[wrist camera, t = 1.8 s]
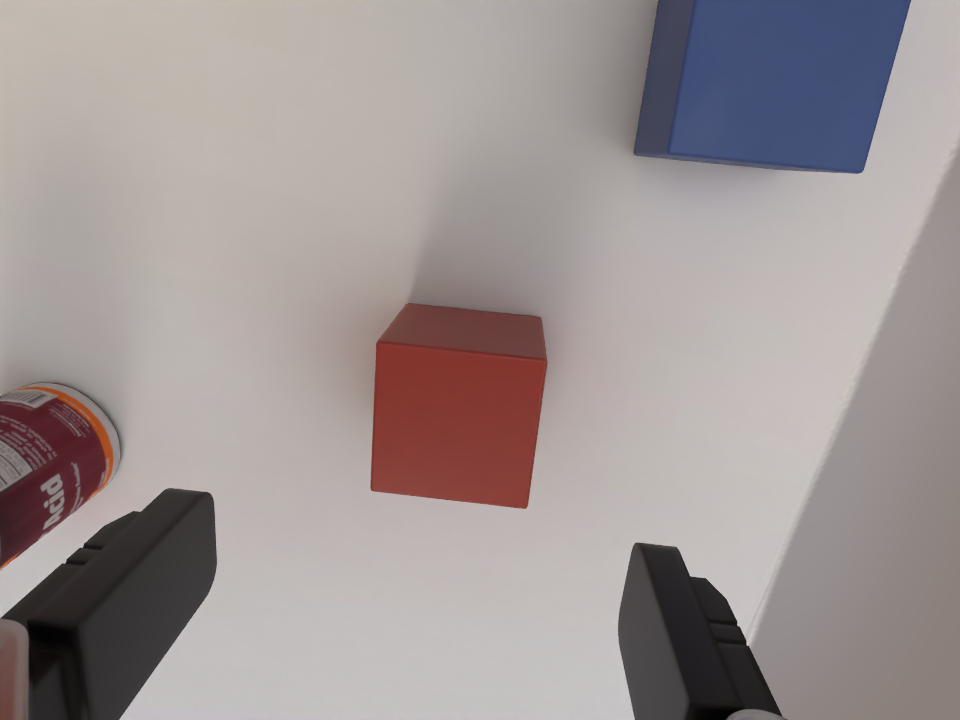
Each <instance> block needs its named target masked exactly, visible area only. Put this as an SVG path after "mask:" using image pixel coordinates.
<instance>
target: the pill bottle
mask: <svg viewBox="0 0 960 720" xmlns="http://www.w3.org/2000/svg"><path fill="white" fill-rule="evenodd" d="M119 462H120V444H119V439H118V436H117V433H116V430H115V428H114V427H113V425H112V423H111V422H110V420H109V418H108V417H107V416H106V414H105V413H104V412H103V411H102V410H101V409H100V408H99V407H98V406H97V405H96V404H95V403H94V402H93V401H91V400H90V399H89V398H87V397H86V396H85V395H83V394H81V393H80V392H78V391H76V390H75V389H72V388H69V387H66V386H63V385H58V384H52V383H37V384H30V385H26V386H23V387H20V388H18V389H15V390H13V391H11V392H9V393H6V394H4V395H2V396H0V570H1V569H3V568H4V567H5V566H6V565H7V564H9V563H10V562H11V561H12V560H14V559H15V558H16V557H18V556H19V555H20V554H22V553H23V552H24V551H25V550H27V549H28V548H29V547H30V546H31V545H33V544H34V543H35V542H37V541H38V540H39V539H41V538H42V537H43V536H44V535H46V534H47V533H48V532H50V531H51V530H52V529H53V528H54V527H56V526H57V525H58V524H59V523H61V522H62V521H63V520H64V519H66V518H67V517H68V516H69V515H71V514H72V513H74V512H75V511H76V510H77V509H78V508H79V507H81V506H82V505H83V504H85V503H86V502H87V501H88V500H90V499H91V498H92V497H93V496H95V495H96V494H97V493H98V492H100V491H101V490H102V489H103V488H104V487H105V486H106V485H107V484H108V483H109V482H110V481H111V479H112V478H113V476H114V475H115V473H116V471H117V468H118V466H119Z"/></svg>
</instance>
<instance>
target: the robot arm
mask: <svg viewBox="0 0 960 720" xmlns="http://www.w3.org/2000/svg"><path fill="white" fill-rule="evenodd" d="M216 566H217V555H216V534H215V513H214V501H213V497H212V495H211V494H210V493H208V492H200V491H192V490H183V489H174V488H168V489H166V490H164V491H163V492H162V493H161V494H160V495H158V496H157V497H156V498H155V499H154V500H153V501H152V502H151V503H150V504H149V505H148V506H147V507H146V508H145V509H144V510H142V511H141V512H136V511H133V512H131V513H129V514H127V515H125V516H123V517H121V518H119V519H117V520H115V521H113V522H111V523H109V524H107V525H105V526H104V527H103V528H102V529H100V530H99V531H98V532H97V533H96V534H95V535H94V536H93V537H91V538H90V539H89V540H88V541H87V542H86V543H85V544H84V547H83V548H79V549H78V550H77V551H76V552H75V553H73V554H72V555H71V556H70V557H69V558H68V559H67V561H66V563H65V564H61V565H60V566H59V567H58V568H57V569H55V570H54V571H53V572H52V573H51V574H50V575H49V576H48V577H46V578H45V579H44V580H43V581H42V582H41V583H40V584H39V585H37V586H36V587H35V588H34V589H33V590H32V591H31V592H30V593H28V594H27V595H26V596H25V597H24V598H23V599H22V600H20V601H19V602H18V603H17V604H16V605H15V606H14V607H13V608H11V609H10V610H9V611H8V612H7V613H6V614H5V615H4V616H2V617H1V618H0V720H119V719H120V717H121V716H122V715H123V713H124V712H125V710H126V709H127V708H128V706H129V705H130V703H131V702H132V701H133V699H134V698H135V696H136V695H137V694H138V692H139V691H140V689H141V688H142V687H143V685H144V684H145V682H146V681H147V679H148V678H149V677H150V675H151V674H152V672H153V671H154V670H155V668H156V667H157V665H158V664H159V663H160V661H161V660H162V658H163V657H164V656H165V654H166V653H167V651H168V650H169V649H170V647H171V646H172V644H173V643H174V641H175V640H176V639H177V637H178V636H179V634H180V633H181V632H182V630H183V629H184V627H185V626H186V625H187V623H188V622H189V620H190V619H191V618H192V616H193V615H194V613H195V612H196V611H197V609H198V608H199V606H200V605H201V603H202V602H203V601H204V599H205V598H206V596H207V595H208V593H209V591H210V589H211V586H212V584H213V581H214V577H215V573H216ZM618 636H619V645H620V651H621V655H622V660H623V665H624V670H625V674H626V679H627V684H628V688H629V693H630V698H631V703H632V707H633V712H634V717H635V720H787V719H785V718H783V717H782V715H781V713H780V710H779V708H778V706H777V704H776V702H775V700H774V698H773V696H772V694H771V692H770V690H769V687H768V685H767V683H766V681H765V679H764V677H763V675H762V673H761V671H760V669H759V666H758V664H757V662H756V660H755V658H754V656H753V654H752V652H751V650H750V648H749V646H747V645H746V639H745V637H744V635H743V633H742V631H741V629H740V627H739V626H737V620H736V618H735V616H734V614H733V612H732V610H731V608H730V606H729V604H728V602H727V599H726V598H725V597H724V596H723V595H722V594H721V593H720V592H719V591H718V590H717V589H716V588H715V587H714V586H713V585H712V584H711V583H710V582H709V581H708V580H707V579H706V578H697V577H690V575H689V573H688V570H687V568H686V566H685V563H684V561H683V558H682V556H681V554H680V551H679V550H678V548H677V547H672V546H663V545H654V544H646V543H635V544H634V546H633V549H632V552H631V557H630V562H629V566H628V571H627V576H626V581H625V586H624V591H623V596H622V601H621V606H620V612H619V622H618Z"/></svg>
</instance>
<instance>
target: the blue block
mask: <svg viewBox="0 0 960 720" xmlns="http://www.w3.org/2000/svg"><path fill="white" fill-rule="evenodd" d="M910 2H911V0H659V1H658V7H657V14H656V20H655V26H654V32H653V38H652V44H651V50H650V56H649V62H648V68H647V74H646V81H645V87H644V93H643V99H642V105H641V111H640V117H639V123H638V129H637V135H636V141H635V148H634V155H636V156H644V157H655V158H665V159H675V160H685V161H695V162H706V163H716V164H726V165H736V166H746V167H757V168H767V169H777V170H793V171H813V172H834V173H854V174H858V173H861V172H862V171H863V170H864V167H865V163H866V160H867V156H868V152H869V149H870V145H871V142H872V138H873V134H874V131H875V127H876V124H877V120H878V117H879V113H880V109H881V106H882V102H883V99H884V95H885V92H886V88H887V84H888V81H889V77H890V74H891V70H892V67H893V63H894V59H895V56H896V52H897V49H898V45H899V42H900V38H901V34H902V31H903V27H904V24H905V20H906V17H907V13H908V9H909V6H910Z"/></svg>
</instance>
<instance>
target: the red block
mask: <svg viewBox="0 0 960 720" xmlns="http://www.w3.org/2000/svg"><path fill="white" fill-rule="evenodd" d="M546 368H547V355H546V348H545V340H544V333H543V325H542V319H541V318H540V317H533V316H524V315H514V314H505V313H496V312H486V311H477V310H467V309H458V308H449V307H439V306H430V305H420V304H411V303H408V304H406V305H405V306H404V308H403V309H402V310H401V312H400V313H399V314H398V315H397V317H396V318H395V319H394V321H393V322H392V323H391V324H390V326H389V327H388V328H387V330H386V331H385V332H384V333H383V335H382V336H381V337H380V339H379V340H378V341H377V343H376V366H375V390H374V414H373V438H372V463H371V487H370V488H371V490H372V491H376V492H385V493H393V494H402V495H411V496H419V497H428V498H436V499H445V500H454V501H462V502H471V503H480V504H488V505H497V506H506V507H514V508H523V509H525V508H527V506H528V501H529V493H530V486H531V479H532V471H533V464H534V457H535V449H536V442H537V434H538V427H539V420H540V412H541V405H542V398H543V390H544V383H545V376H546Z"/></svg>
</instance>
